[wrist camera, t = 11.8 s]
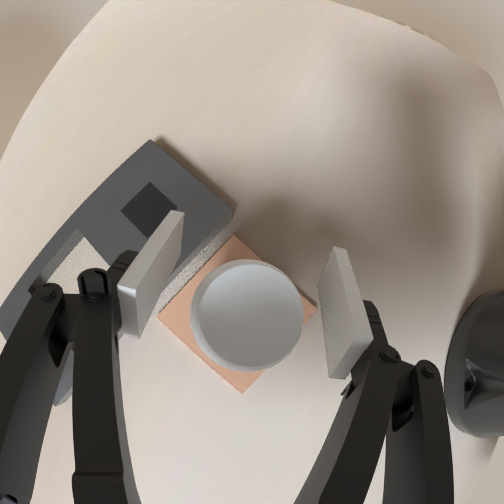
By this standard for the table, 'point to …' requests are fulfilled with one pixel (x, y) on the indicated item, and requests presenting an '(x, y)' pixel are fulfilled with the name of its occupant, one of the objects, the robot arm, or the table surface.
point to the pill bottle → (246, 315)
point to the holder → (124, 228)
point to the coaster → (179, 307)
